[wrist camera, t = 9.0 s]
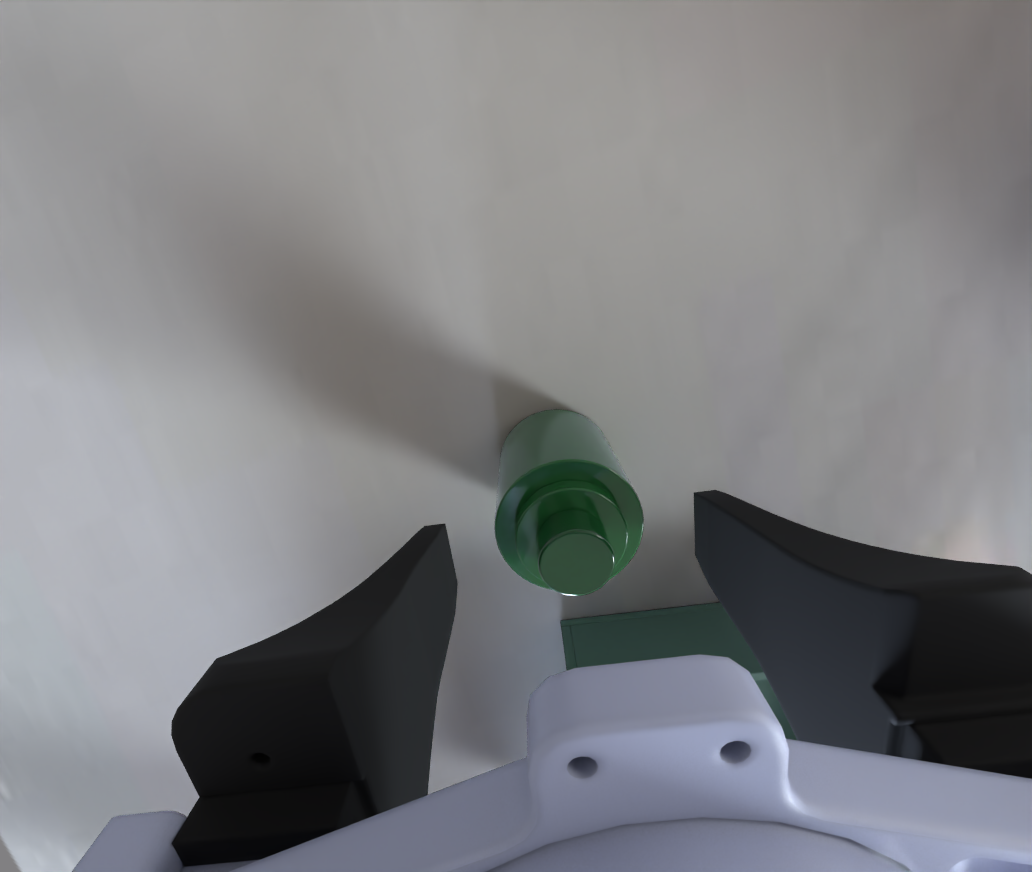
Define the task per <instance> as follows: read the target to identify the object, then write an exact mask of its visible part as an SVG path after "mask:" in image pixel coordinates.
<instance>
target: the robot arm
mask: <svg viewBox="0 0 1032 872" xmlns="http://www.w3.org/2000/svg"><path fill="white" fill-rule="evenodd" d="M694 524H695V556H696V558H697V560H698V562H699V565H700V567H701V569H702V571H703V573H704V575H705V578H706V580H707V582H708V584H709V585H710V587H711V589H712V590H713V592H714V593H715V595H716V596H717V598H718V600H719V601H720V603H721V604H722V606H723V607H724V609H725V610H726V612H727V613H728V615H729V616H730V618H731V620H732V621H733V623H734V624H735V626H736V627H737V629H738V630H739V632H740V633H741V635H742V636H743V638H744V639H745V641H746V642H747V644H748V645H749V647H750V649H751V650H752V652H753V654H754V655H755V657H756V659H757V660H758V662H759V664H760V666H761V668H762V670H763V672H764V674H765V676H766V678H767V679H768V681H769V683H770V685H771V687H772V689H773V691H774V693H775V695H776V697H777V699H778V701H779V703H780V705H781V707H782V709H783V712H784V714H785V716H786V718H787V720H788V722H789V724H790V726H791V728H792V730H793V732H794V734H795V736H796V739H797V740H791V739H786V738H785V735H784V732H783V729H782V726H781V725H780V723H779V721H778V720H777V718H776V716H775V715H774V713H773V711H772V710H771V708H770V706H769V704H768V703H767V701H766V699H765V698H764V696H763V694H762V693H761V691H760V689H759V687H758V686H757V684H756V682H755V681H754V679H753V677H752V676H751V674H750V672H749V671H748V670H746V669H745V668H743V667H742V666H740V665H739V664H737V663H736V662H735V661H733V660H732V659H730V658H729V657H720V656H710V655H700V654H698V655H689V656H680V657H671V658H662V659H653V660H644V661H635V662H626V663H616V664H607V665H598V666H589V667H580V668H574V669H571V670H568V671H565V672H561V673H558V674H555V675H552V676H549V677H547V678H546V679H545V680H544V682H543V683H542V684H541V685H540V686H539V687H538V688H537V689H536V690H535V691H534V692H533V693H532V694H531V695H530V699H529V705H528V710H527V716H526V717H527V757H525V758H522V759H520V760H517V761H514V762H512V763H509V764H507V765H504V766H501V767H499V768H496V769H494V770H491V771H489V772H486V773H483V774H481V775H478V776H476V777H473V778H470V779H468V780H465V781H463V782H460V783H457V784H455V785H452V786H450V787H447V788H445V789H442V790H439V791H437V792H434V793H432V794H429V795H427V794H428V781H429V769H430V759H431V749H432V739H433V729H434V720H435V712H436V703H437V696H438V690H439V684H440V679H441V675H442V670H443V666H444V662H445V657H446V653H447V648H448V644H449V639H450V635H451V630H452V626H453V621H454V616H455V609H456V598H457V578H456V573H455V568H454V564H453V559H452V554H451V549H450V545H449V540H448V535H447V530H446V526H445V524H438V525H430V526H424V527H423V528H422V529H421V530H419V531H418V532H417V533H416V534H415V535H414V536H413V537H412V538H411V539H410V540H409V541H408V542H407V543H406V544H405V545H404V546H403V547H402V548H401V549H400V550H399V551H397V552H396V553H395V554H394V555H393V556H392V557H391V558H390V559H389V560H388V561H387V562H386V563H384V564H383V565H382V566H381V567H380V568H379V569H378V570H376V571H375V572H374V573H373V574H372V575H371V576H369V577H368V578H367V579H366V580H365V581H363V582H362V583H361V584H359V585H358V586H357V587H355V588H354V589H353V590H351V591H350V592H349V593H347V594H346V595H344V596H343V597H341V598H340V599H338V600H337V601H335V602H334V603H332V604H331V605H329V606H327V607H326V608H324V609H322V610H321V611H319V612H317V613H315V614H314V615H312V616H310V617H309V618H307V619H305V620H303V621H302V622H300V623H298V624H296V625H294V626H292V627H290V628H288V629H286V630H284V631H282V632H280V633H278V634H276V635H273V636H271V637H269V638H267V639H265V640H262V641H260V642H258V643H255V644H253V645H250V646H248V647H245V648H243V649H240V650H238V651H235V652H233V653H230V654H228V655H225V656H222V657H219V658H217V659H216V660H215V661H214V662H213V664H212V665H211V666H210V667H209V669H208V670H207V671H206V673H205V674H204V675H203V676H202V678H201V679H200V680H199V682H198V683H197V684H196V685H195V687H194V688H193V689H192V691H191V692H190V693H189V695H188V696H187V697H186V698H185V700H184V701H183V702H182V704H181V705H180V706H179V707H178V709H177V711H176V713H175V715H174V718H173V720H172V733H171V735H172V739H173V742H174V745H175V748H176V751H177V753H178V755H179V757H180V759H181V761H182V763H183V765H184V767H185V769H186V771H187V773H188V775H189V777H190V779H191V781H192V783H193V785H194V787H195V789H196V791H197V793H198V795H199V799H198V801H197V802H196V804H195V805H194V807H193V809H192V810H191V812H190V814H189V815H188V817H186V816H185V815H183V814H181V813H178V812H176V811H159V812H149V813H139V814H129V815H119V816H116V817H113V818H111V820H110V821H109V822H108V824H107V825H106V826H105V828H104V829H103V830H102V832H101V833H100V834H99V836H98V837H97V838H96V840H95V841H94V842H93V844H92V845H91V846H90V848H89V849H88V851H87V852H86V853H85V855H84V856H83V857H82V859H81V860H80V861H79V863H78V864H77V865H76V867H75V868H74V869H73V871H72V872H1032V574H1030V573H1028V572H1027V571H1025V570H1023V569H1022V568H1020V567H1017V566H1006V565H995V564H985V563H974V562H963V561H954V560H947V559H940V558H934V557H927V556H920V555H914V554H909V553H903V552H898V551H893V550H888V549H884V548H879V547H875V546H870V545H866V544H862V543H858V542H854V541H850V540H847V539H843V538H840V537H836V536H833V535H830V534H826V533H823V532H820V531H817V530H814V529H811V528H808V527H806V526H803V525H800V524H798V523H795V522H792V521H789V520H787V519H785V518H782V517H780V516H777V515H775V514H772V513H770V512H768V511H765V510H763V509H761V508H758V507H756V506H754V505H752V504H749V503H747V502H745V501H743V500H740V499H738V498H736V497H733V496H731V495H729V494H726V493H723V492H721V491H717V490H711V491H703V492H695V493H694Z"/></svg>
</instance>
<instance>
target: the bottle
mask: <svg viewBox="0 0 1032 872" xmlns="http://www.w3.org/2000/svg"><path fill="white" fill-rule="evenodd" d="M643 528H644V517H643V510H642V507H641V503H640V500H639V498H638V496H637V494H636V492H635V490H634V489H633V487H632V485H631V483H630V481H629V479H628V478H627V476H626V474H625V472H624V470H623V468H622V467H621V465H620V463H619V461H618V459H617V457H616V456H615V454H614V452H613V450H612V448H611V447H610V445H609V443H608V441H607V439H606V437H605V436H604V434H603V433H602V431H601V430H600V429H599V428H598V426H597V425H596V424H595V423H593V422H592V421H591V420H589V419H588V418H586V417H585V416H583V415H581V414H579V413H575V412H572V411H568V410H558V409H555V410H546V411H541V412H538V413H535V414H533V415H531V416H529V417H527V418H525V419H524V420H522V421H521V422H520V423H519V424H517V425H516V426H515V427H514V428H513V429H512V431H511V432H510V433H509V435H508V436H507V438H506V440H505V442H504V444H503V447H502V450H501V455H500V465H499V477H498V489H497V501H496V513H495V538H496V542H497V545H498V548H499V550H500V553H501V555H502V556H503V558H504V560H505V561H506V562H507V564H508V565H509V566H510V567H511V568H512V569H513V570H514V571H515V572H516V573H517V574H518V575H519V576H521V577H522V578H524V579H525V580H527V581H529V582H530V583H532V584H535V585H537V586H540V587H543V588H547V589H551V590H555V591H556V592H558V593H561V594H564V595H569V596H581V595H586V594H590V593H592V592H594V591H596V590H598V589H600V588H601V587H602V586H603V585H604V584H606V582H607V581H608V580H609V579H611V578H612V577H614V576H615V575H616V574H618V573H619V572H620V571H621V570H622V569H623V568H624V567H625V566H626V565H627V564H628V563H629V562H630V561H631V559H632V558H633V556H634V555H635V553H636V551H637V549H638V547H639V545H640V541H641V538H642V534H643Z"/></svg>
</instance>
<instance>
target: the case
mask: <svg viewBox="0 0 1032 872" xmlns="http://www.w3.org/2000/svg"><path fill="white" fill-rule="evenodd" d="M561 629H562V637H563V645H564V653H565V660H566V668H567V671H568V670H571V669H574V668H580V667H589V666H598V665H607V664H616V663H626V662H635V661H644V660H653V659H662V658H671V657H680V656H689V655H698V654H700V655H710V656H720V657H729V658H730V659H732V660H733V661H735V662H736V663H737V664H739V665H740V666H742V667H743V668H745V669H746V670H748V671H749V672H750V674H751V676H752V677H753V679H754V681H755V682H756V684H757V686H758V687H759V689H760V691H761V693H762V694H763V696H764V698H765V699H766V701H767V703H768V704H769V706H770V708H771V710H772V711H773V713H774V715H775V716H776V718H777V720H778V721H779V723H780V725H781V726H782V729H783V732H784V735H785V738H786V739H791V740H797V739H796V736H795V734H794V732H793V730H792V728H791V726H790V724H789V722H788V720H787V718H786V716H785V714H784V712H783V709H782V707H781V705H780V703H779V701H778V699H777V697H776V695H775V693H774V691H773V689H772V687H771V685H770V683H769V681H768V679H767V678H766V676H765V674H764V672H763V670H762V668H761V666H760V664H759V662H758V660H757V659H756V657H755V655H754V654H753V652H752V650H751V649H750V647H749V645H748V644H747V642H746V641H745V639H744V638H743V636H742V635H741V633H740V632H739V630H738V629H737V627H736V626H735V624H734V623H733V621H732V620H731V618H730V616H729V615H728V613H727V612H726V610H725V609H724V607H723V606H722V604H721V603H711V604H702V605H693V606H685V607H676V608H667V609H658V610H649V611H641V612H632V613H623V614H614V615H605V616H597V617H588V618H579V619H570V620H561Z"/></svg>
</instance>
